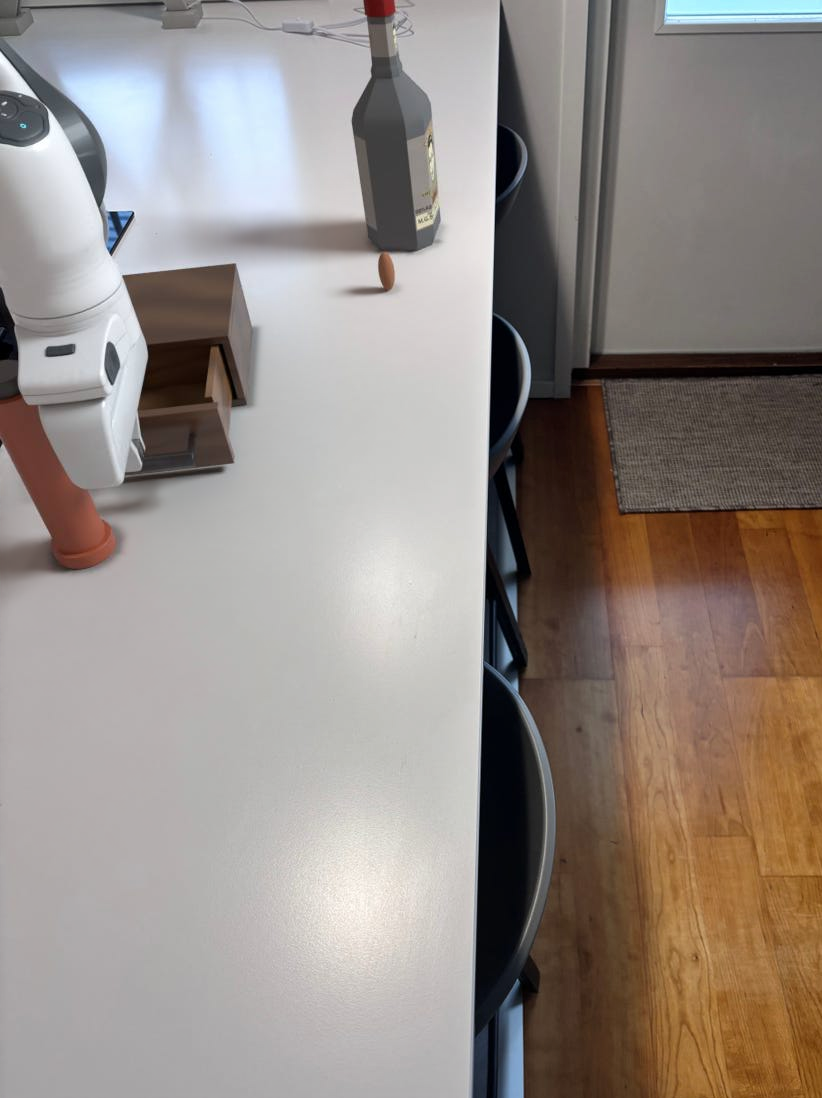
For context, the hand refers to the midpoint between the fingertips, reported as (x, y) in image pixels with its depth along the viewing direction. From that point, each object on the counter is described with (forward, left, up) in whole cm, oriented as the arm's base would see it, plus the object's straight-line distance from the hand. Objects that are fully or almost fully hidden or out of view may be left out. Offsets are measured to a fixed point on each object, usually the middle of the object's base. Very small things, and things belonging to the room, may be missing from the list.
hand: (135, 461), depth 88 cm
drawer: (0, +16, -9) cm, 18 cm away
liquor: (+27, +58, -10) cm, 65 cm away
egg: (+24, +44, -10) cm, 51 cm away
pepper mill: (-8, +1, -10) cm, 13 cm away
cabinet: (0, +30, -10) cm, 32 cm away
